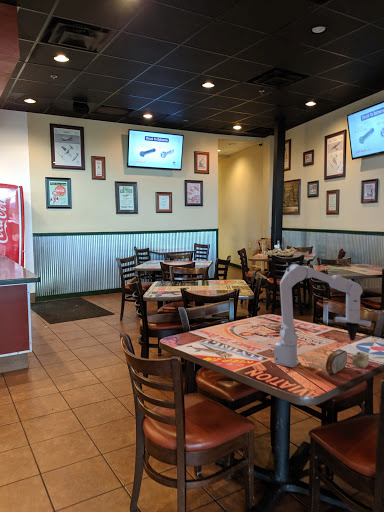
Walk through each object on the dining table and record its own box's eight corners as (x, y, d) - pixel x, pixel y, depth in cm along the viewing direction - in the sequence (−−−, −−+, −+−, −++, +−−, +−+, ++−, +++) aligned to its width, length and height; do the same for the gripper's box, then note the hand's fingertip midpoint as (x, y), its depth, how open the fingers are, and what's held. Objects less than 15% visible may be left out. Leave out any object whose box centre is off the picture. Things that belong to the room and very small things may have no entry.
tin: (341, 365, 169) (341, 346, 168) (348, 367, 166) (348, 348, 166) (324, 375, 158) (325, 355, 158) (332, 377, 156) (332, 356, 155)
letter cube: (352, 365, 168) (352, 353, 168) (356, 362, 172) (356, 350, 172) (364, 368, 165) (364, 356, 165) (368, 364, 169) (368, 353, 168)
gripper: (373, 309, 167) (372, 340, 168) (339, 305, 177) (339, 335, 178) (368, 312, 162) (367, 344, 163) (333, 308, 171) (333, 338, 172)
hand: (352, 340), depth 170 cm, fingers closed
